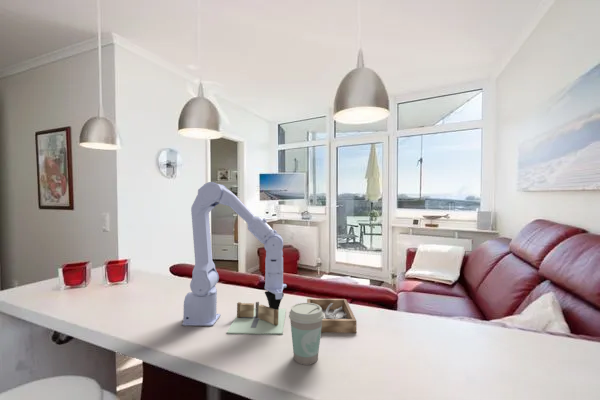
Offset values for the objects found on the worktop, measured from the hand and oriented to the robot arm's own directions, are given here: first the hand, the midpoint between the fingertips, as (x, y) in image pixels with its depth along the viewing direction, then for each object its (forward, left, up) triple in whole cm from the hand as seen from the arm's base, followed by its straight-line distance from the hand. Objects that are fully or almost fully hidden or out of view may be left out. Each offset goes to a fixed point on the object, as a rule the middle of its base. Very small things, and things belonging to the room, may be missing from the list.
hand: (274, 314), depth 86 cm
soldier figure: (+19, -1, -2) cm, 20 cm away
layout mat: (-5, 0, -2) cm, 5 cm away
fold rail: (-2, -2, -1) cm, 3 cm away
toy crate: (+18, +1, -2) cm, 18 cm away
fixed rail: (-9, +1, -2) cm, 9 cm away
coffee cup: (+10, -21, -2) cm, 23 cm away
